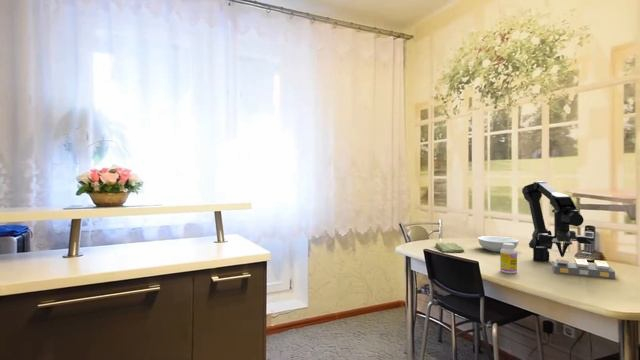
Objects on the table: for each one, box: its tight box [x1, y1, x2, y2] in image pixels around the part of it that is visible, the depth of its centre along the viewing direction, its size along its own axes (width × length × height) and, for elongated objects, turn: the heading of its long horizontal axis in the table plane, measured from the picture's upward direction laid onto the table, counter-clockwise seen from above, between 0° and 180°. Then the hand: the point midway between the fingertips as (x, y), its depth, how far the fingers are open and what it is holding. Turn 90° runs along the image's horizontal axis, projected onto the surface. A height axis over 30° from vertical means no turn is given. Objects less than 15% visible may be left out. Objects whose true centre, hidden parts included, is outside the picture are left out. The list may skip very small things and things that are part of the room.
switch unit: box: [551, 260, 616, 280], centre depth 155 cm, size 21×10×3 cm, turn 61°
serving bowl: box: [477, 235, 519, 253], centre depth 202 cm, size 21×21×7 cm
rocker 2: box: [574, 258, 589, 267], centre depth 155 cm, size 4×6×1 cm, turn 151°
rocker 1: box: [556, 258, 570, 264], centre depth 158 cm, size 4×6×1 cm, turn 151°
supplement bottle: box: [499, 243, 518, 275], centre depth 158 cm, size 7×7×13 cm
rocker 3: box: [594, 259, 610, 269], centre depth 151 cm, size 4×6×1 cm, turn 151°
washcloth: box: [434, 242, 465, 253], centre depth 207 cm, size 13×18×3 cm
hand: (562, 256), depth 160 cm, fingers closed
